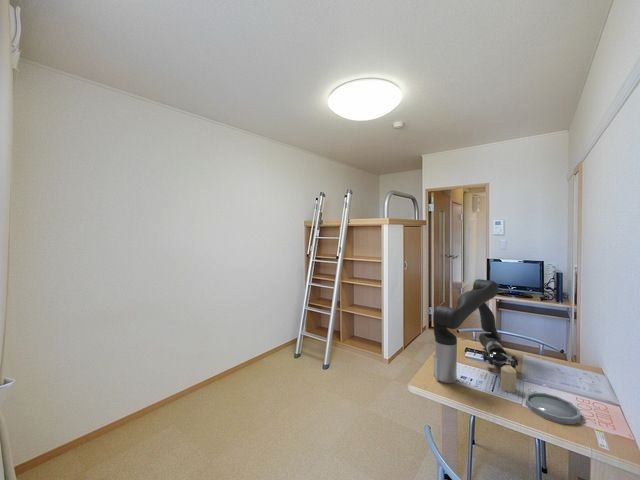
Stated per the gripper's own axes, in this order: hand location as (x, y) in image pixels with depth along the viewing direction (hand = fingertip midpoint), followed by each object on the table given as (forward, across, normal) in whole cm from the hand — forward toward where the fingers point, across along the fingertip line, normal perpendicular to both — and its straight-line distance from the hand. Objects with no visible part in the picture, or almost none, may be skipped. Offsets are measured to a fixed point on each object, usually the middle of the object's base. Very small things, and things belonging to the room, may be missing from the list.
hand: (502, 364), depth 131 cm
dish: (+20, +12, +6) cm, 24 cm away
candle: (+10, 0, +6) cm, 12 cm away
